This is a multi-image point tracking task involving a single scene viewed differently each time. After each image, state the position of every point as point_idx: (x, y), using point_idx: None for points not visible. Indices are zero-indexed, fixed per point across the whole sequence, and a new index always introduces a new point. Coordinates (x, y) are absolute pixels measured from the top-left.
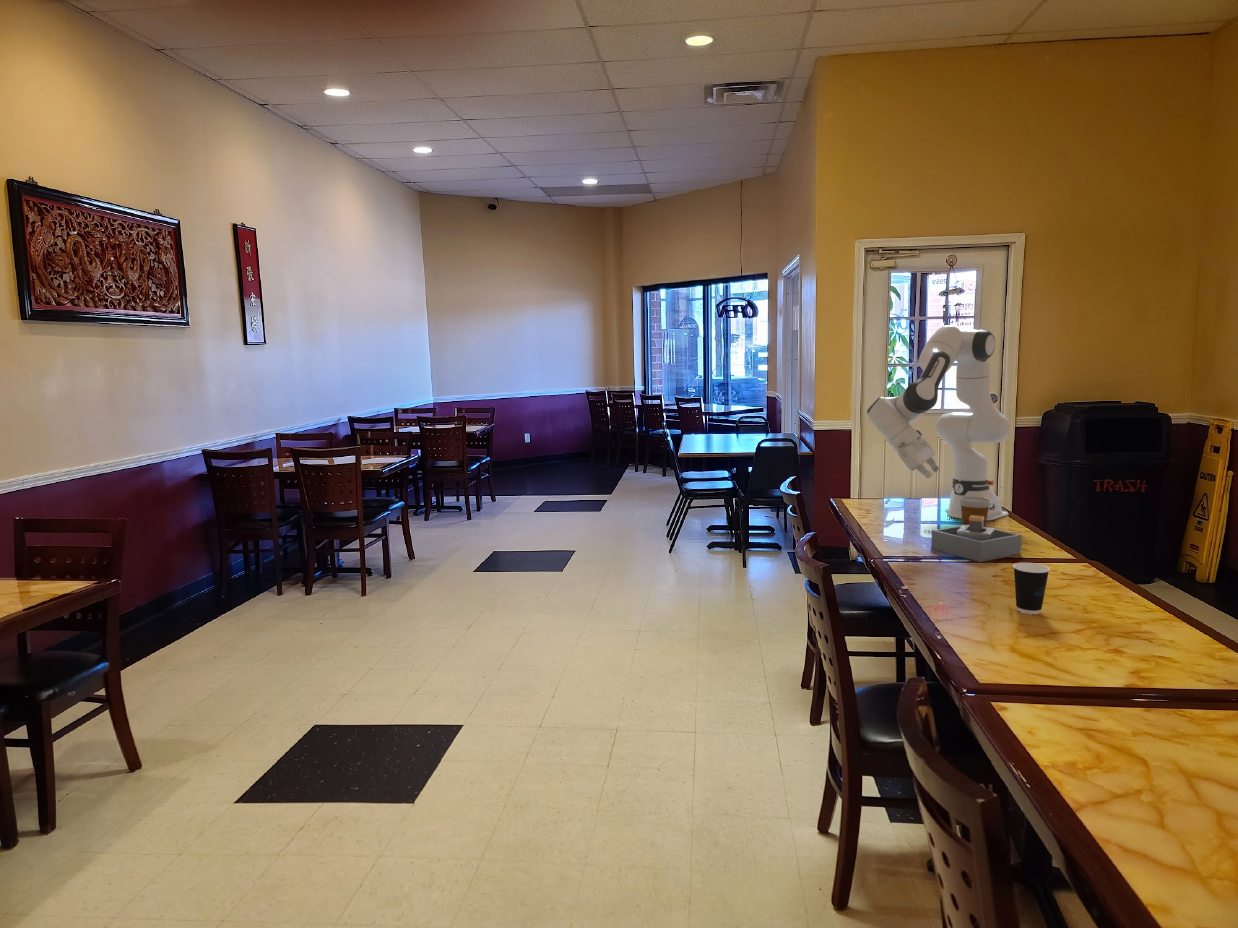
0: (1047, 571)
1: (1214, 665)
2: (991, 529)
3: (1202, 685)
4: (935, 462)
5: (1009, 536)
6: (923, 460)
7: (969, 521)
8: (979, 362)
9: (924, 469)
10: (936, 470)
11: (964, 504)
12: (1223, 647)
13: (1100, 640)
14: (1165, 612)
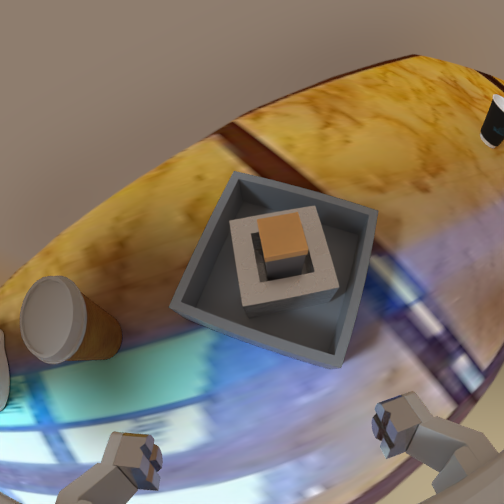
0: (501, 97)
1: (454, 65)
2: (254, 221)
3: (481, 76)
4: (83, 477)
5: (270, 183)
6: (478, 488)
7: (305, 254)
8: None
9: (463, 433)
10: (152, 449)
11: (79, 341)
12: (423, 56)
13: (483, 102)
14: (384, 66)
